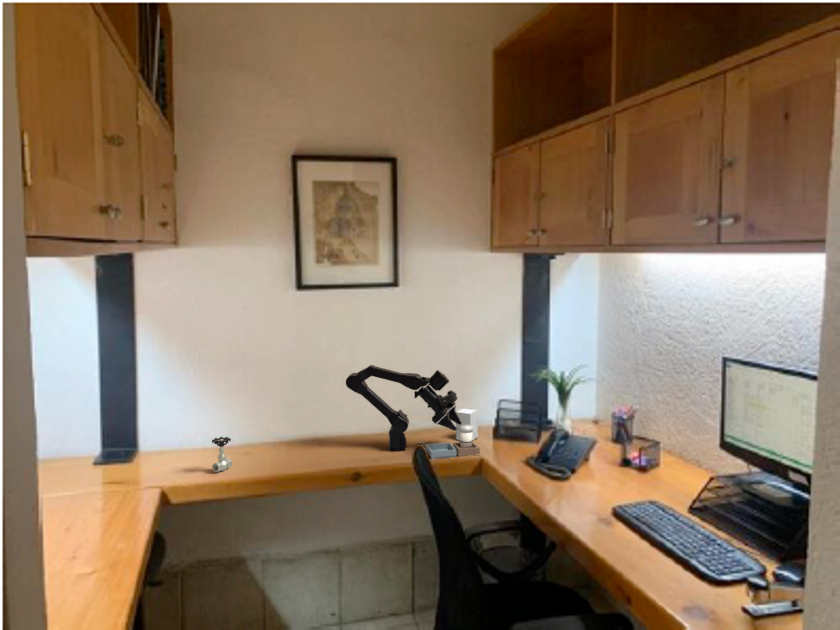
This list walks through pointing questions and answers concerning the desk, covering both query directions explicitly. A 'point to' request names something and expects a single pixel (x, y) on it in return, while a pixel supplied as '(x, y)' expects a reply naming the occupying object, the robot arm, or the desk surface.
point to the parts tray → (441, 450)
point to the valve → (221, 455)
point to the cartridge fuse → (466, 436)
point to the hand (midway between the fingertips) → (458, 426)
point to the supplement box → (468, 421)
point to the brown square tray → (466, 449)
